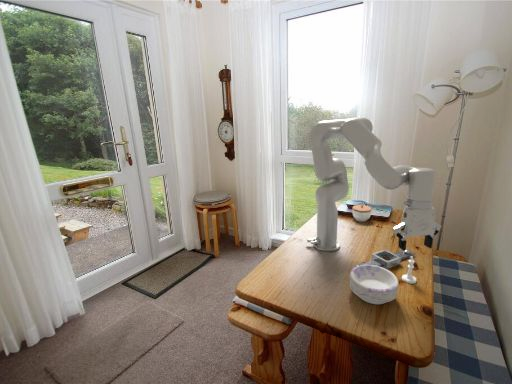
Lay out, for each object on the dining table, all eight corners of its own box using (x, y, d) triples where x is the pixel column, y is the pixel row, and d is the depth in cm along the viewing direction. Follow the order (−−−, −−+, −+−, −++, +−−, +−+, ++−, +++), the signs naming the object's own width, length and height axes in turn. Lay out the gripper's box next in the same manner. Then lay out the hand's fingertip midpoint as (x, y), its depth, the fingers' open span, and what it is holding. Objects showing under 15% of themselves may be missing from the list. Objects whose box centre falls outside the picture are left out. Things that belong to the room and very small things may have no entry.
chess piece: (411, 275, 100) (414, 252, 98) (419, 283, 96) (422, 259, 93) (399, 276, 100) (401, 253, 98) (406, 284, 96) (409, 260, 93)
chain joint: (366, 276, 101) (366, 269, 100) (351, 266, 108) (352, 260, 108) (418, 257, 112) (418, 251, 111) (401, 249, 119) (402, 243, 119)
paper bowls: (375, 317, 81) (377, 296, 78) (340, 290, 94) (341, 271, 92) (406, 300, 87) (409, 280, 85) (369, 277, 100) (370, 259, 98)
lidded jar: (372, 223, 150) (373, 208, 147) (352, 222, 152) (353, 207, 150) (369, 216, 160) (370, 202, 157) (350, 216, 162) (351, 202, 160)
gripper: (401, 208, 85) (397, 254, 90) (451, 204, 86) (445, 250, 90) (389, 202, 93) (386, 245, 97) (435, 198, 93) (430, 241, 98)
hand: (414, 247), depth 94 cm, fingers open, 9 cm apart
